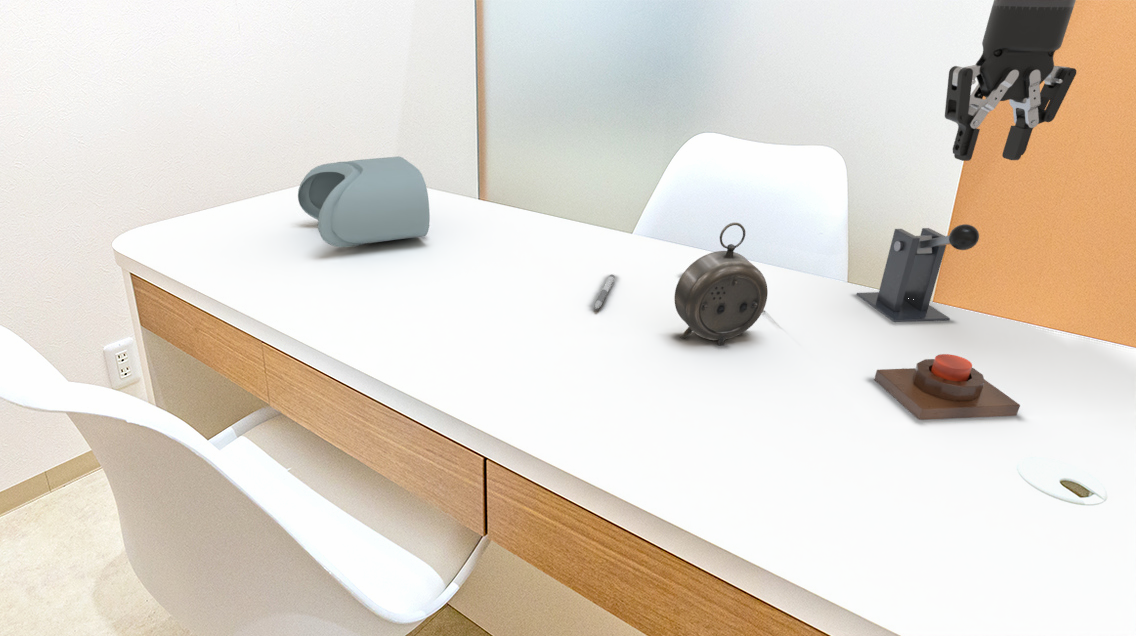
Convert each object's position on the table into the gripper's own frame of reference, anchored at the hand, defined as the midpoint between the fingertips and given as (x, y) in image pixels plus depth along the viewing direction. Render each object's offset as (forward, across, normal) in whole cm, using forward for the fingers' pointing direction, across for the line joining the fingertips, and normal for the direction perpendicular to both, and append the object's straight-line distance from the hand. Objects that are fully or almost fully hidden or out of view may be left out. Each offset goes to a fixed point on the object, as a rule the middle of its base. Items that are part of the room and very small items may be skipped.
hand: (986, 158), depth 89 cm
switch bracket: (+23, 0, +8) cm, 25 cm away
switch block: (+23, -10, -17) cm, 31 cm away
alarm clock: (+24, -30, 0) cm, 38 cm away
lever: (+13, 0, +3) cm, 13 cm away
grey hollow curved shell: (+24, -79, +49) cm, 96 cm away
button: (+20, -10, -17) cm, 28 cm away
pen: (+24, -41, +17) cm, 50 cm away
